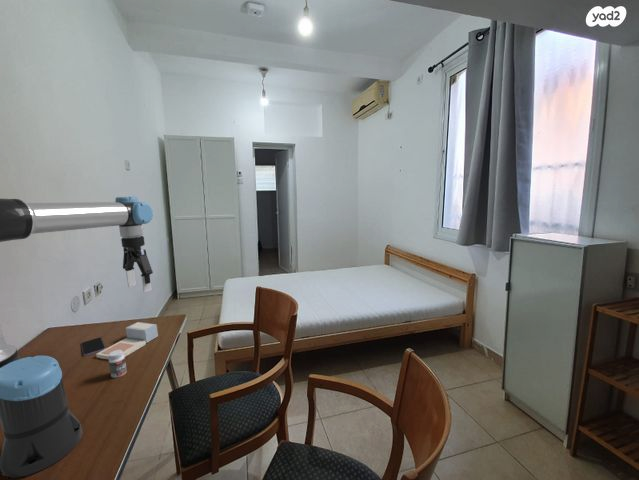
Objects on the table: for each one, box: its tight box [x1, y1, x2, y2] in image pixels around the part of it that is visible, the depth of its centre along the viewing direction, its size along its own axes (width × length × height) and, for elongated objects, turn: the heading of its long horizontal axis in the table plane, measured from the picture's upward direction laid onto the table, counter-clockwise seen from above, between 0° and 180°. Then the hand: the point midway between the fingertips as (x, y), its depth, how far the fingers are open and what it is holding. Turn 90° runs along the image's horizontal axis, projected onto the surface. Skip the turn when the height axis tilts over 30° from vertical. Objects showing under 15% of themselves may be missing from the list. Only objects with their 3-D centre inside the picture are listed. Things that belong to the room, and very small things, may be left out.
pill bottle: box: [108, 350, 128, 379], centre depth 104 cm, size 5×5×8 cm
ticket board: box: [95, 337, 147, 361], centre depth 120 cm, size 13×11×2 cm
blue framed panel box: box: [125, 321, 159, 344], centre depth 129 cm, size 6×11×6 cm, turn 73°
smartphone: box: [80, 337, 106, 357], centre depth 124 cm, size 7×1×15 cm
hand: (139, 288), depth 117 cm, fingers open, 13 cm apart
